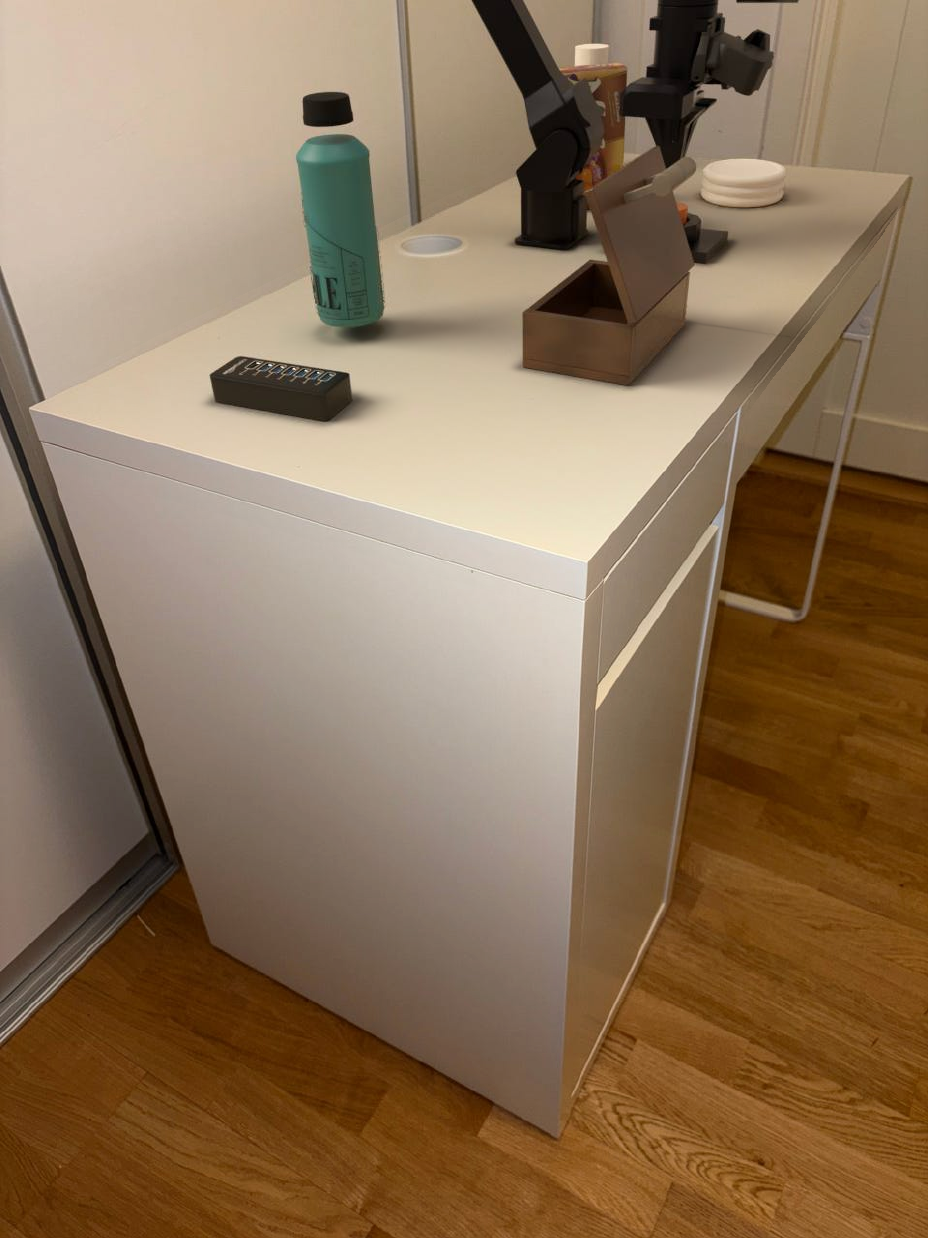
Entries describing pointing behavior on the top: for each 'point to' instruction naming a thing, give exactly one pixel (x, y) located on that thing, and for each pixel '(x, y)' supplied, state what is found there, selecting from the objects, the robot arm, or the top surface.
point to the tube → (591, 54)
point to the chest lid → (643, 229)
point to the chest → (598, 327)
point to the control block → (703, 239)
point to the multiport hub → (282, 388)
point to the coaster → (743, 182)
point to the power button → (682, 211)
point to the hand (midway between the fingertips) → (672, 176)
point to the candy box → (603, 118)
